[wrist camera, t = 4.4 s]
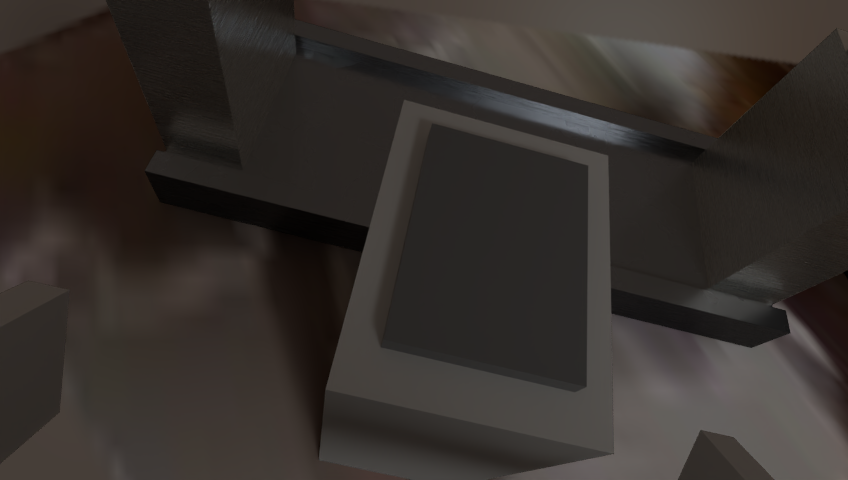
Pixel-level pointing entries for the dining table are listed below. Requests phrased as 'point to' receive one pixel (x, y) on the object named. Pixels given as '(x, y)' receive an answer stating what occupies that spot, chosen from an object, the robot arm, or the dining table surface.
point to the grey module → (477, 308)
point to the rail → (512, 108)
